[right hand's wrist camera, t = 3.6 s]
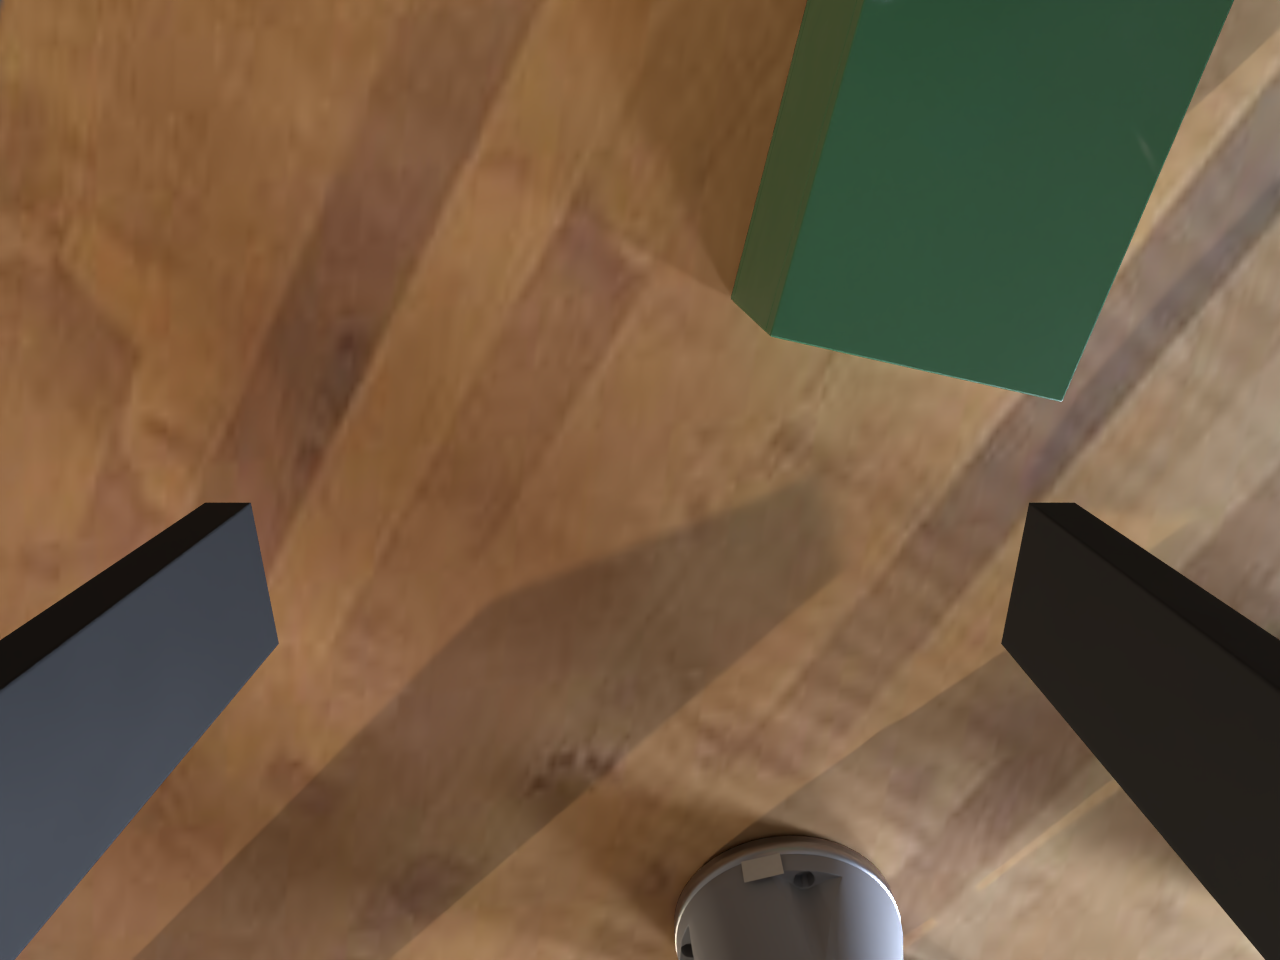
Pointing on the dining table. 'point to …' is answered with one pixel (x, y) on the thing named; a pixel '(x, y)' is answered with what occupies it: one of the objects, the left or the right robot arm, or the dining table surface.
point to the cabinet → (966, 177)
